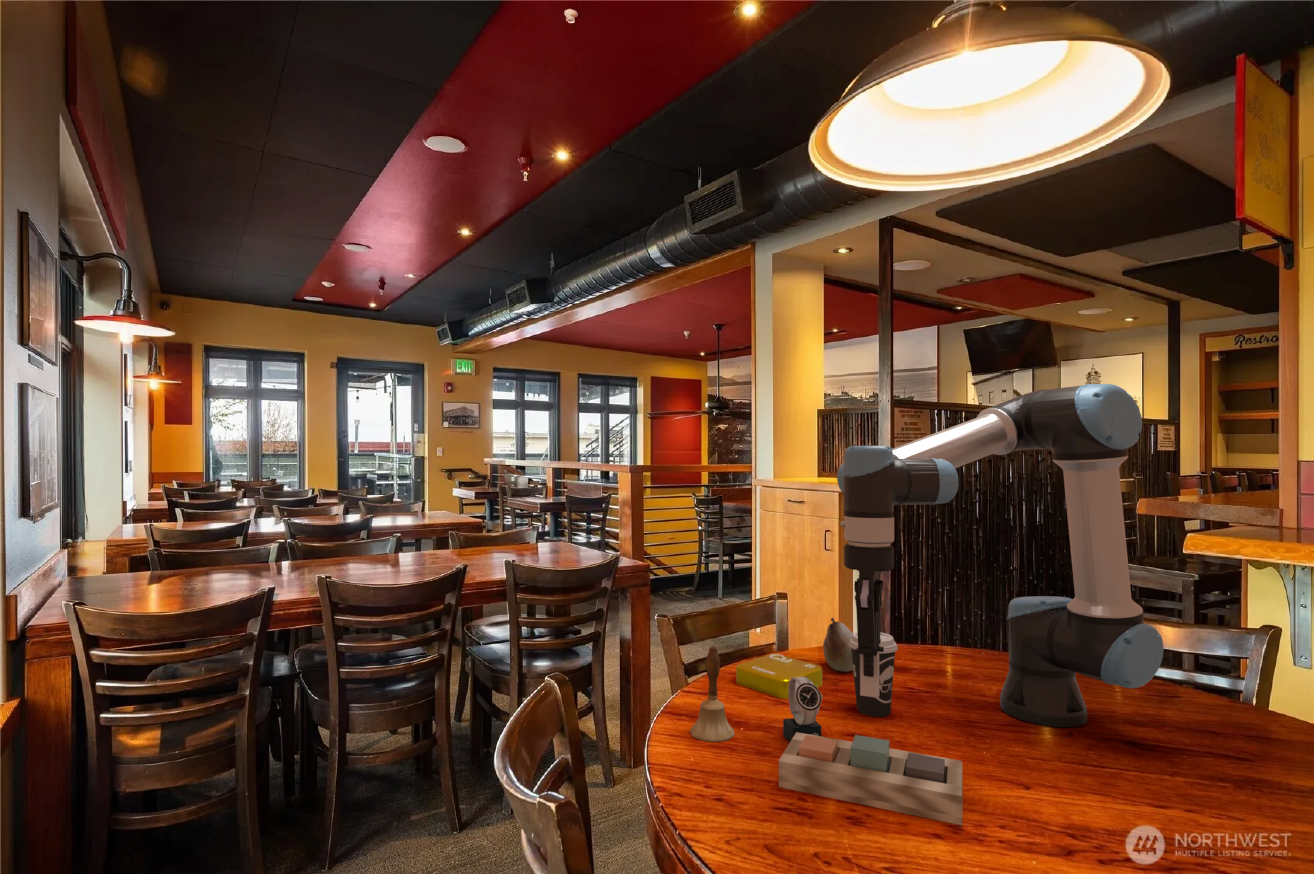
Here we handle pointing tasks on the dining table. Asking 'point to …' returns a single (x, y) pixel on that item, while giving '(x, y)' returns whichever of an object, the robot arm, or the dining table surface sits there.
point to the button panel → (874, 782)
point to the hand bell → (712, 707)
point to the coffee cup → (886, 670)
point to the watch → (802, 708)
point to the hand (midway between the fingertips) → (869, 694)
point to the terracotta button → (819, 748)
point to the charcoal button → (925, 768)
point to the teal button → (870, 753)
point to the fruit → (838, 647)
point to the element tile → (776, 674)
